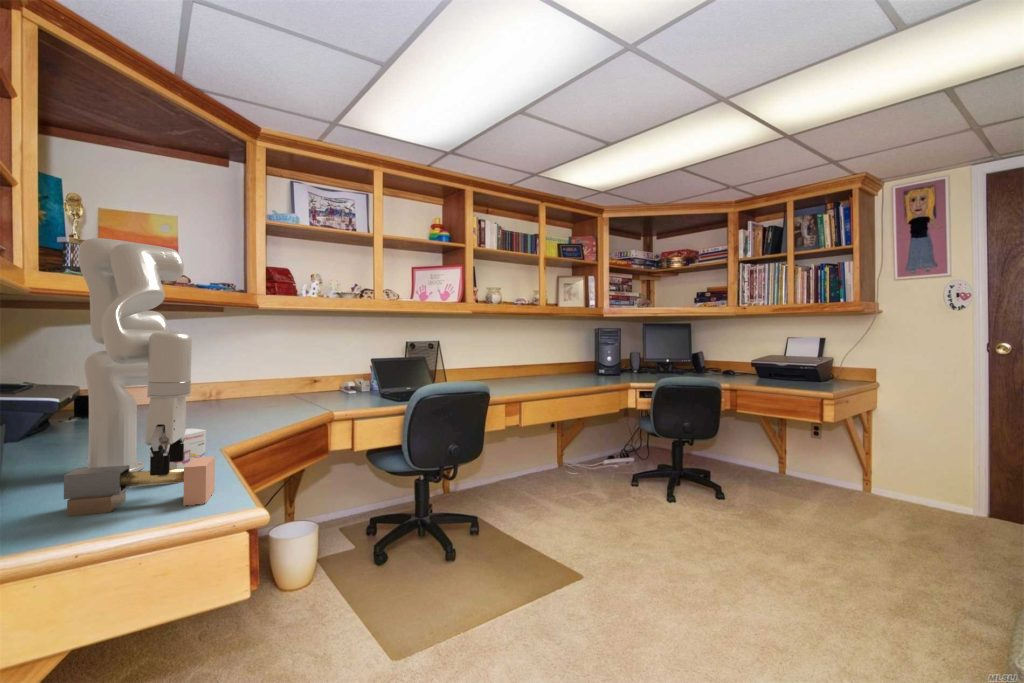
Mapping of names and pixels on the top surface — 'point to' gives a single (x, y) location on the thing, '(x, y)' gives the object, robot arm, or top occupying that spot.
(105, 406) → the robot arm
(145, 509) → the top surface
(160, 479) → the tube
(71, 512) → the grey block
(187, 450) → the ink box
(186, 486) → the socket
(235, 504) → the top surface
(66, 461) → the top surface
